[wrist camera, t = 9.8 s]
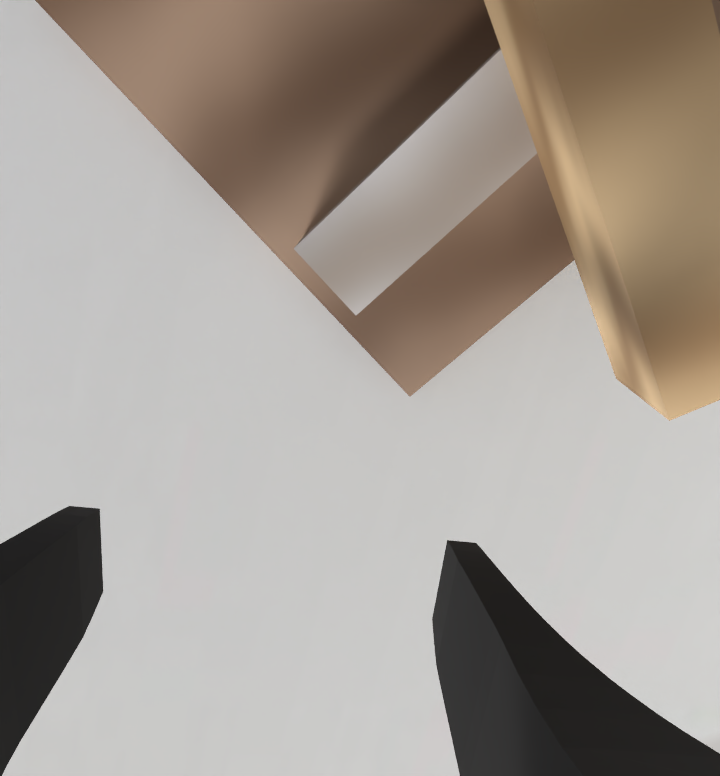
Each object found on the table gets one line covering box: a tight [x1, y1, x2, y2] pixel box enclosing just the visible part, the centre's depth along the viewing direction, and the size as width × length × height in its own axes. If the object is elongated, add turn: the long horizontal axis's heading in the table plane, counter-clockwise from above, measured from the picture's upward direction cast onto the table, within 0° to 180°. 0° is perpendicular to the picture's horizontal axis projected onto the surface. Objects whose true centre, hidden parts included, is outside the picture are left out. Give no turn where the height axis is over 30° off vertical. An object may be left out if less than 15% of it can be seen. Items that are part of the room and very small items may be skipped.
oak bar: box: [484, 0, 720, 421], centre depth 13 cm, size 16×3×3 cm, turn 26°
